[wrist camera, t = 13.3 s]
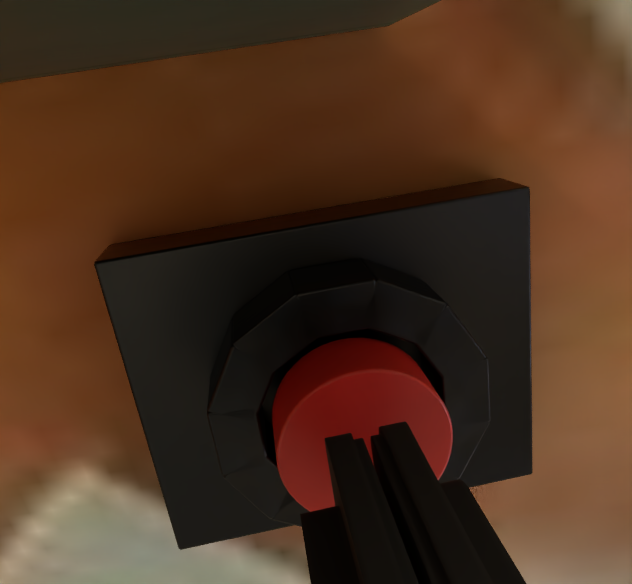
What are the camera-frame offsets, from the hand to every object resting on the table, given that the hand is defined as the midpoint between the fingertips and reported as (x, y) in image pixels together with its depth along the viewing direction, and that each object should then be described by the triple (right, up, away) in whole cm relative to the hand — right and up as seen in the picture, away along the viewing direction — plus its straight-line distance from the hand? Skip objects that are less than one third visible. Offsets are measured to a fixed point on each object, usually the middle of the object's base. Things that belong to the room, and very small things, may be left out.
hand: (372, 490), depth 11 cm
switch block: (-1, +2, +6) cm, 6 cm away
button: (0, +1, +3) cm, 3 cm away
